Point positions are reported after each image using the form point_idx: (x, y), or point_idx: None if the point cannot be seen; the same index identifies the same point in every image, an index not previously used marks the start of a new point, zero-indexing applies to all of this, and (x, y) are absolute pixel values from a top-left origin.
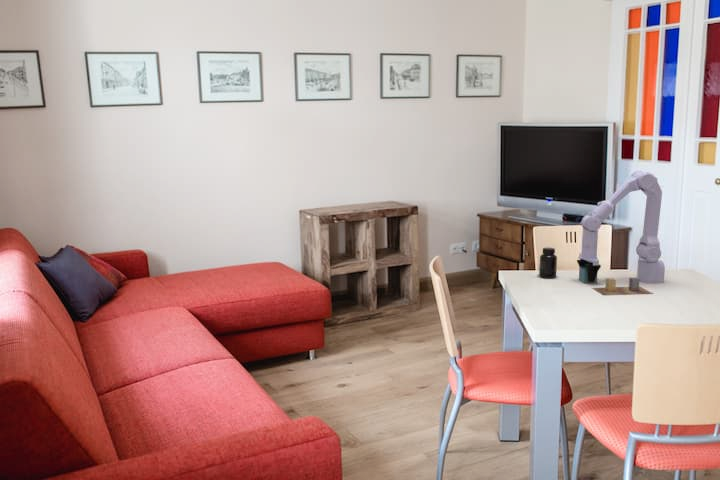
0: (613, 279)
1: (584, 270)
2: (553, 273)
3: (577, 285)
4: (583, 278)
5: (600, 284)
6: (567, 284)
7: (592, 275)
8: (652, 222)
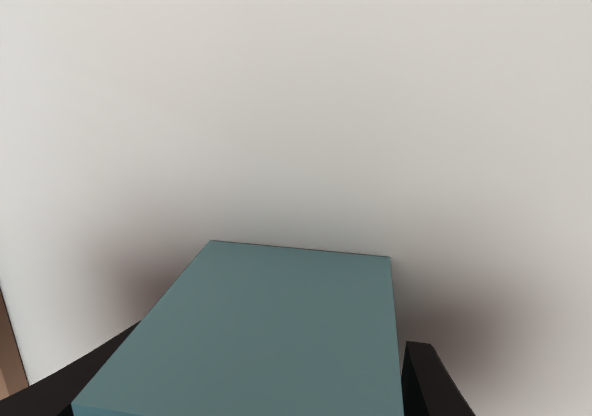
0: None
1: (86, 392)
2: None
3: (184, 146)
4: (196, 285)
5: None
6: (251, 15)
7: None
8: None
